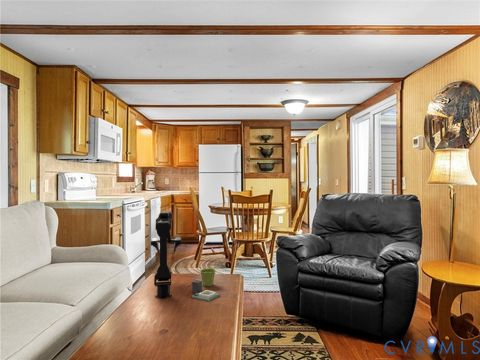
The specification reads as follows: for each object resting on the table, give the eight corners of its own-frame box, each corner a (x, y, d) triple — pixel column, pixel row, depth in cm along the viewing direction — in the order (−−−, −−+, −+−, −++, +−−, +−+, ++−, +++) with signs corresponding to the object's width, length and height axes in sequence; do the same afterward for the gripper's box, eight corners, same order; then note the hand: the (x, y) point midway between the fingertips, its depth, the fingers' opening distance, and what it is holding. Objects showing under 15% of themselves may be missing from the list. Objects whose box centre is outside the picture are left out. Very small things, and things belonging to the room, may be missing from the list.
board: (208, 301, 180) (208, 297, 180) (191, 297, 185) (191, 293, 185) (219, 295, 188) (219, 291, 188) (203, 292, 194) (203, 288, 194)
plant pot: (198, 283, 210) (198, 269, 210) (213, 282, 213) (213, 267, 213) (201, 288, 201) (201, 273, 201) (217, 286, 204) (217, 271, 204)
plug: (197, 293, 192) (197, 281, 192) (192, 292, 194) (191, 280, 194) (202, 291, 195) (202, 280, 195) (196, 290, 198) (196, 279, 197)
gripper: (181, 225, 227) (181, 247, 231) (151, 226, 224) (152, 248, 228) (181, 232, 216) (181, 255, 220) (150, 233, 213) (151, 256, 217)
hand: (166, 253), depth 222 cm, fingers open, 9 cm apart
